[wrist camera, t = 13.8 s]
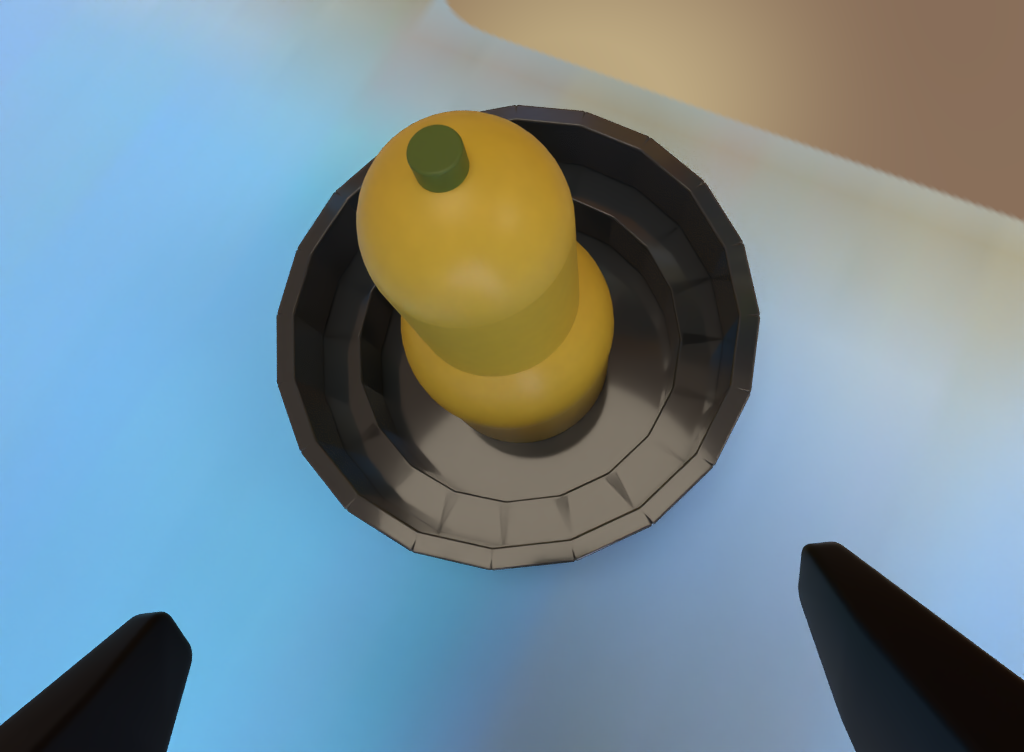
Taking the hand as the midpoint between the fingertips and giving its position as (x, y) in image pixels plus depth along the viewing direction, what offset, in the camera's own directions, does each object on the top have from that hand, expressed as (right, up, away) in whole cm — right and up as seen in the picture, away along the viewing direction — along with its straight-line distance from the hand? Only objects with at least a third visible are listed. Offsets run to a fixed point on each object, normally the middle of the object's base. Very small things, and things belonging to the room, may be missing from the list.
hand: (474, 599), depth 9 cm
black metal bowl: (+1, +4, +15) cm, 15 cm away
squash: (+1, +4, +14) cm, 15 cm away
